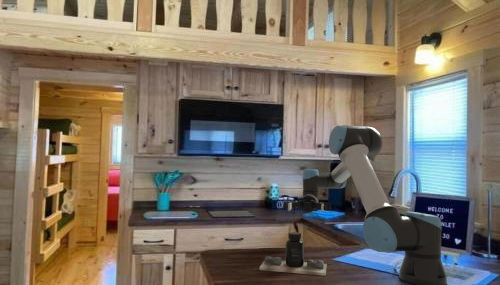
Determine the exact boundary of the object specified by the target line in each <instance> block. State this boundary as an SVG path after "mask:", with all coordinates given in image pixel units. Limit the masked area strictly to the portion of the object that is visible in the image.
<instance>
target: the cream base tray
mask: <svg viewBox="0 0 500 285" xmlns="http://www.w3.org/2000/svg"><path fill="white" fill-rule="evenodd" d="M282 259H283V258H282V257H280V256H274V257H273V256H269V255H266V256H265V257H264V260H263V262H262V263H261V265H260V266H259V269H258V270H259V271H265V272H267V271H268V272H281V273H290V274H291V273H293V274H299V275H301V274H302V275H311V276H312V275H314V276H322V277H324V276H327V268H328V264H327V263H325V262H324V260H321V259H320V260H319V259H318V260H314V259H307V261H306V262H305V261H304V265H303V266H302V267H289V266H287V265H286V260H282Z"/></svg>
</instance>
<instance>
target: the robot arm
mask: <svg viewBox="0 0 500 285" xmlns="http://www.w3.org/2000/svg"><path fill="white" fill-rule="evenodd" d="M328 137H329V139H328V148H329V151H330V153H331V154H333V155H338V157H339V160H340V161H341V162H340V163H339V164H338V165H337V166H336V167H335V168H334V169H333V170H332V171H331V172H329V173H328V172H326V173H324V172H319V170H318V169H316V168H315V169H313V168H312V169H311V168H310V169H309V168H305V169H304V170H303V171H302V198H301V200H298V201H296V200H292V201H283V209H286V210H287V211H292V209H299V210H301V209H302V210H303V211H304V212H306V213H312V212H314V211H315V210H317V209H319V210H321V211H320V212H324V211H326V210H328V211H331V210H332V204H331V203H328V202H326V201H320V202H319V189H335V190H336V189H337V190H338V189H343V188H345V187H346V185H347V182H348V180H347V179H349V178H350V177H351V178H352V181H353V183H354V186H355V188H356V191H357V192H358V195H359V196H358V197H359V198H360V200H361V203H362V205H363V208H364V210H365V212H366V215H365V217H364V222H363V224H362V230H363V231H362V233H363V238H364V240H365V242H366V244H367V245H368V247H369V248H371V249H372V250H373V251H375V252H379V253H385V254H388V253H395V252H397V253H398V252H404V257H403V260H402V262H401V265H400V268H399V270H398V274H399V276H398V277H399V278H400V280H402V281H404V282H406V283H409V284H412V285H447V284H448V280H447V276H448V275H447V274H446V271H445V267H444V265H443V261H442V230H443V228H442V220H441V218H440V217H439V216H437V215H434V214H430V213H429V214H427V213H423V212H417V211H416V212H415V211H407V210H406V211H405V213H404V216H403V215H400V212H399V211H398V209H397V207H396V206H394V205H391V203H390V202H389V199H388V198H387V195H386V193H385V191H384V189H383V187H382V184H381V183H380V180H379V178H378V176H377V174H376V172H375V170H374V168H373V165H372V164H371V160H373V159H374V158H376V157H377V156H378V155H379V154H380V152H381V151H382V148H383V145H384V143H383V142H384V141H383V138H382V135H381V134H380V132H379V131H378V130H377V129H376V128H374V127H371V126H361V125H360V126H358V125H357V126H356V125H346V124H343V125H336V126H334V128H332V130H331V131H330V133H329V136H328Z"/></svg>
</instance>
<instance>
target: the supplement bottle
mask: <svg viewBox="0 0 500 285" xmlns="http://www.w3.org/2000/svg"><path fill="white" fill-rule="evenodd" d="M287 234H288V236H287V238H288V239H287V240H286V241H285V261H286V265H287V266H289V267H302V266H303V265H304V262H305V257H304V256H305V250H304V248H305V243H304V241H303V240H302V233H301V232H296V231H295V232H293V231H292V232H288V233H287Z"/></svg>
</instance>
